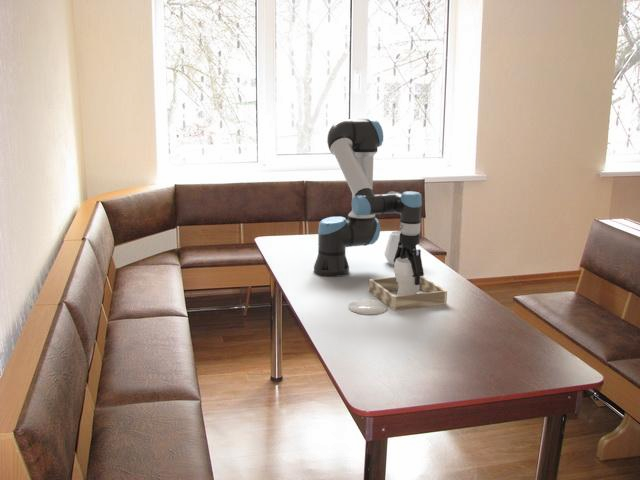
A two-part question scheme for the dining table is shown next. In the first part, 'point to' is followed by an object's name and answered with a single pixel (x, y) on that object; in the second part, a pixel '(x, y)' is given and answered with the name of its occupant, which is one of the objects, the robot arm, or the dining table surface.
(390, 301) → the corral
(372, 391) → the dining table surface
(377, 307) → the disc
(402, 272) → the cup
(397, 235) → the cup
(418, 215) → the robot arm
